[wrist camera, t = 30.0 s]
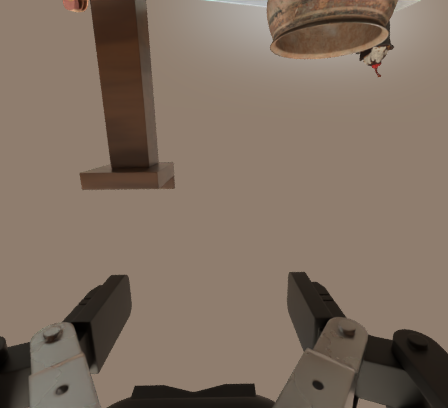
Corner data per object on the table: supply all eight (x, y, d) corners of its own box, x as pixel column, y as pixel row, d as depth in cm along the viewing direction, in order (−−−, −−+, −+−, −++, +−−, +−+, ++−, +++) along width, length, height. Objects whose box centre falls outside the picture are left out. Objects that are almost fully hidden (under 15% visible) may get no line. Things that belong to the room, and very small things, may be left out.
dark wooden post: (21, -183, 22) (84, 206, 31) (129, -184, 22) (159, 205, 31) (85, -83, 32) (118, 187, 41) (158, -84, 32) (175, 187, 41)
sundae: (400, -6, 51) (388, 78, 55) (362, 2, 54) (353, 81, 58) (405, -23, 45) (390, 72, 49) (361, -13, 48) (351, 75, 52)
